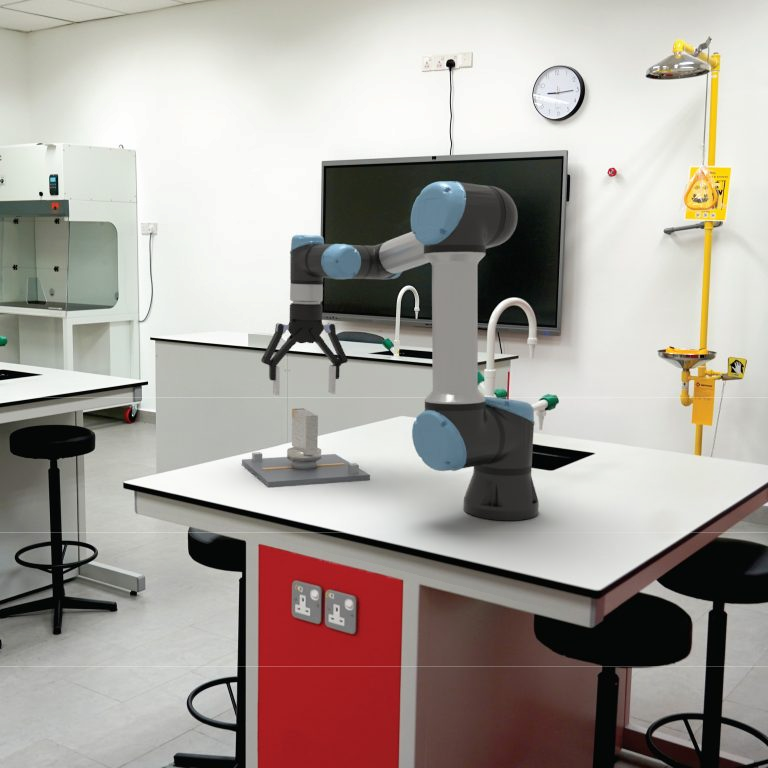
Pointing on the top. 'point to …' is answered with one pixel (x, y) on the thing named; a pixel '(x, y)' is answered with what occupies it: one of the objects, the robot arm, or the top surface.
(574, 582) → the top surface
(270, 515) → the top surface
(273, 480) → the post plate
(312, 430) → the grey block knob
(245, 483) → the top surface
